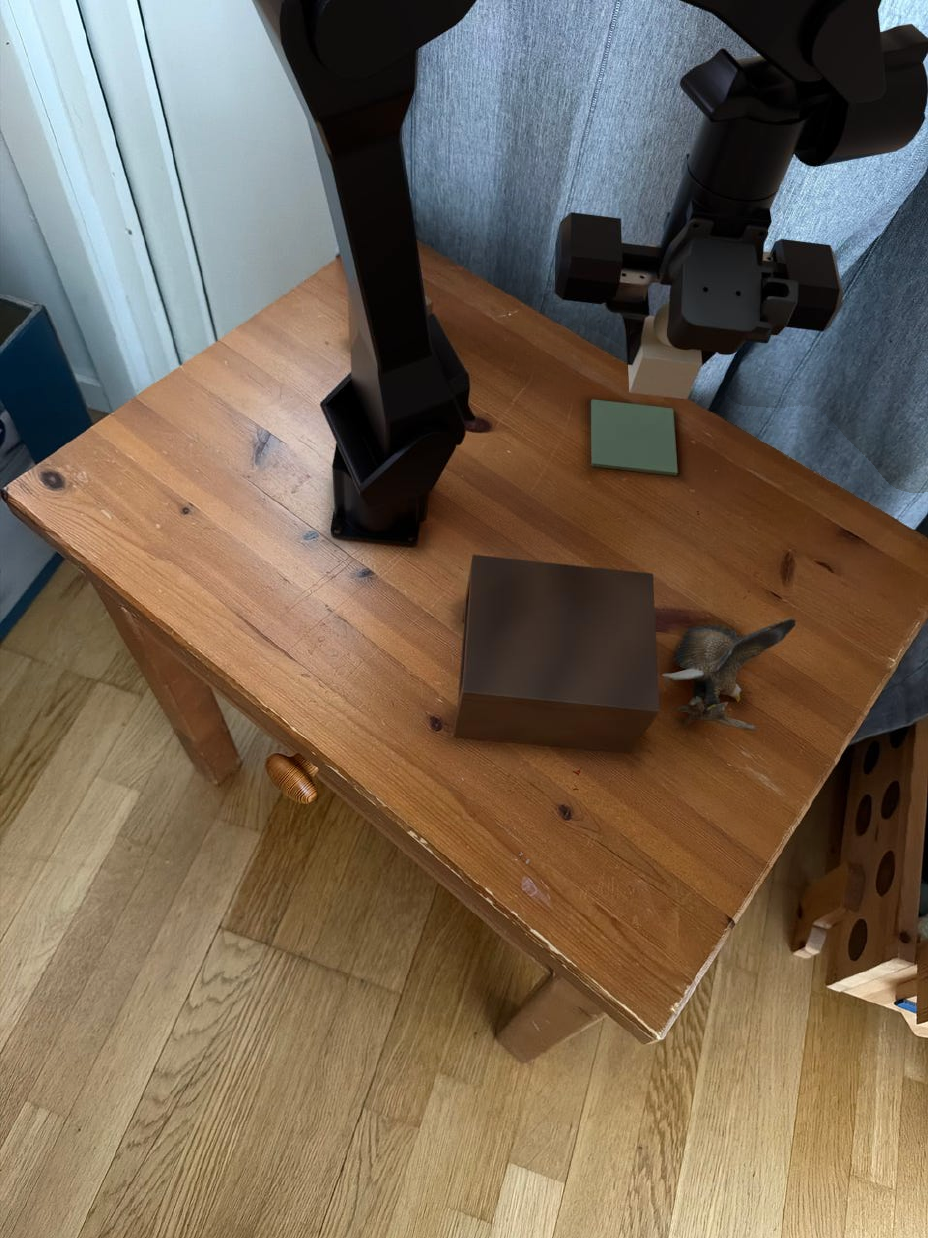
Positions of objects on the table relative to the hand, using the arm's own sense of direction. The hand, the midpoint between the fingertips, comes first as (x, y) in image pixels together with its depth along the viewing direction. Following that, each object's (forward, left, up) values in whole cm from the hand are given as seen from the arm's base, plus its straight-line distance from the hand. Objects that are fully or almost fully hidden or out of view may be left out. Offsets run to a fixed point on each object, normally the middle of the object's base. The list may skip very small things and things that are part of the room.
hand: (660, 364), depth 67 cm
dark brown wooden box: (-7, -23, -8) cm, 25 cm away
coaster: (0, 0, -8) cm, 8 cm away
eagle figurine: (+5, -22, -8) cm, 24 cm away
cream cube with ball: (0, 0, -1) cm, 1 cm away
